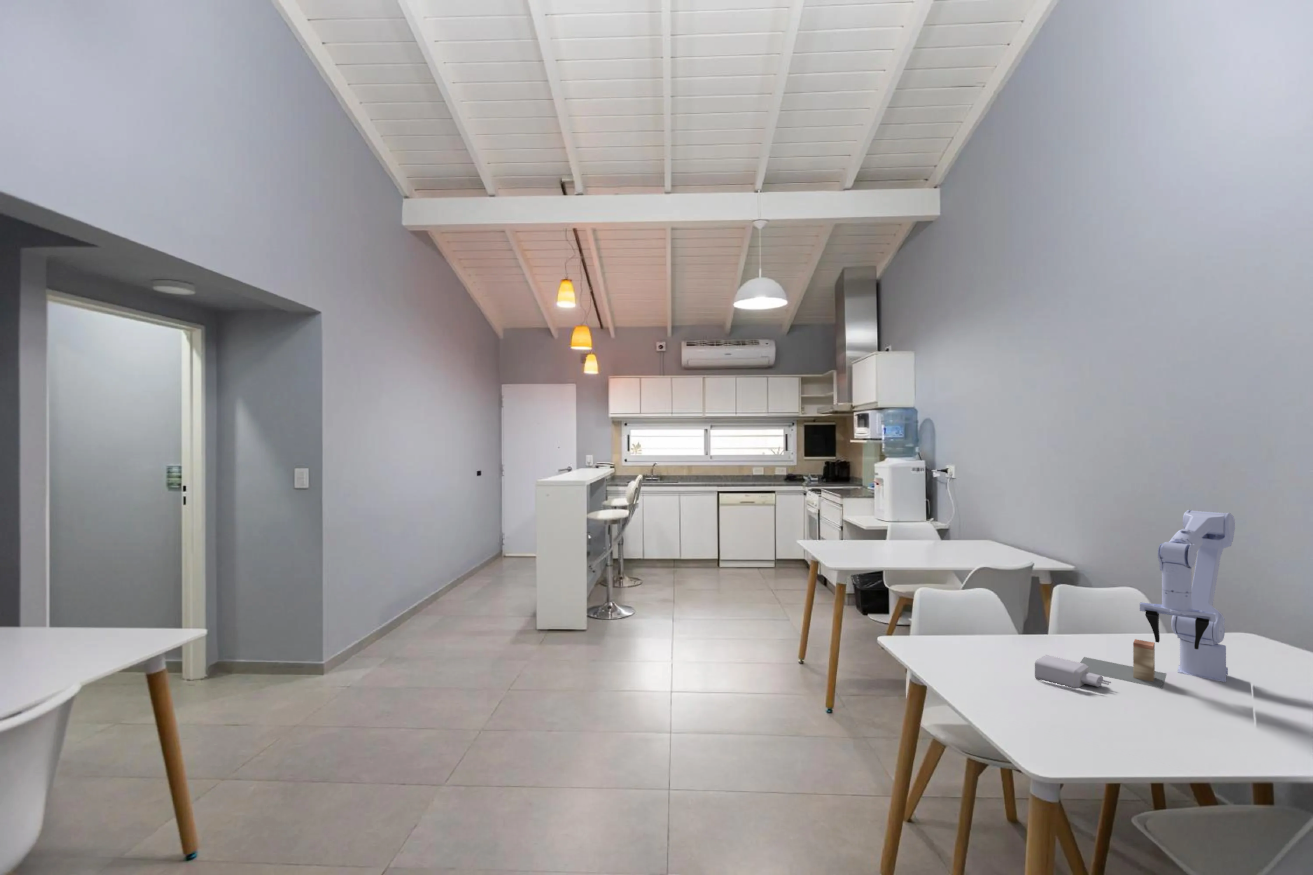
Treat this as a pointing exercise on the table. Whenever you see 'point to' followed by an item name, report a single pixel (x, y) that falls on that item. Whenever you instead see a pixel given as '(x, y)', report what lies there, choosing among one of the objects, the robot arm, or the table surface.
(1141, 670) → the maple block
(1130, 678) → the rubber mat
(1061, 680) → the charger
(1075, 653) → the table surface
